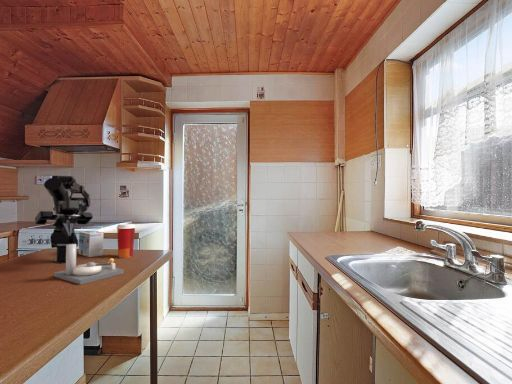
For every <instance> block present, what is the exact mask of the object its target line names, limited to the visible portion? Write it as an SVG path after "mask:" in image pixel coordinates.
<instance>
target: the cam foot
mask: <svg viewBox="0 0 512 384" xmlns="http://www.w3.org/2000/svg"><path fill="white" fill-rule="evenodd" d="M103 265H111V263H108V262H102V263H98V264H97V263H96V262H94V261H89V262H86V263H82V264H77V247H76V244H67V245H66V262H65V270H66V274H67V275H71V274H73V275H77V276H85V275H93V274H97V273H100V272H101V271H102V266H103Z"/></svg>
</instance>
